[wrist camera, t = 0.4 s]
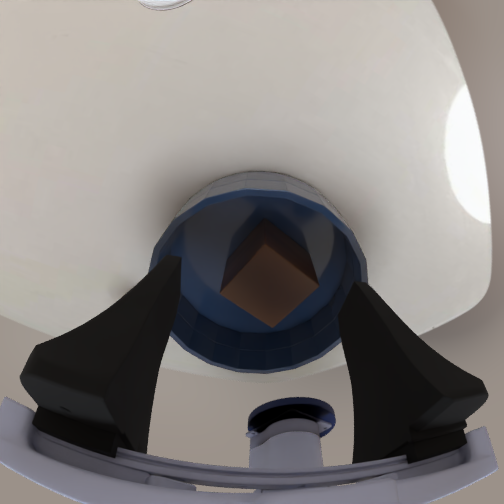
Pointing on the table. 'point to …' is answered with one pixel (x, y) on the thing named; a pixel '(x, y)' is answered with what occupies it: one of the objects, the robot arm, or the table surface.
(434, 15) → the table surface
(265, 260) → the block
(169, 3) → the chess piece
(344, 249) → the bowl
